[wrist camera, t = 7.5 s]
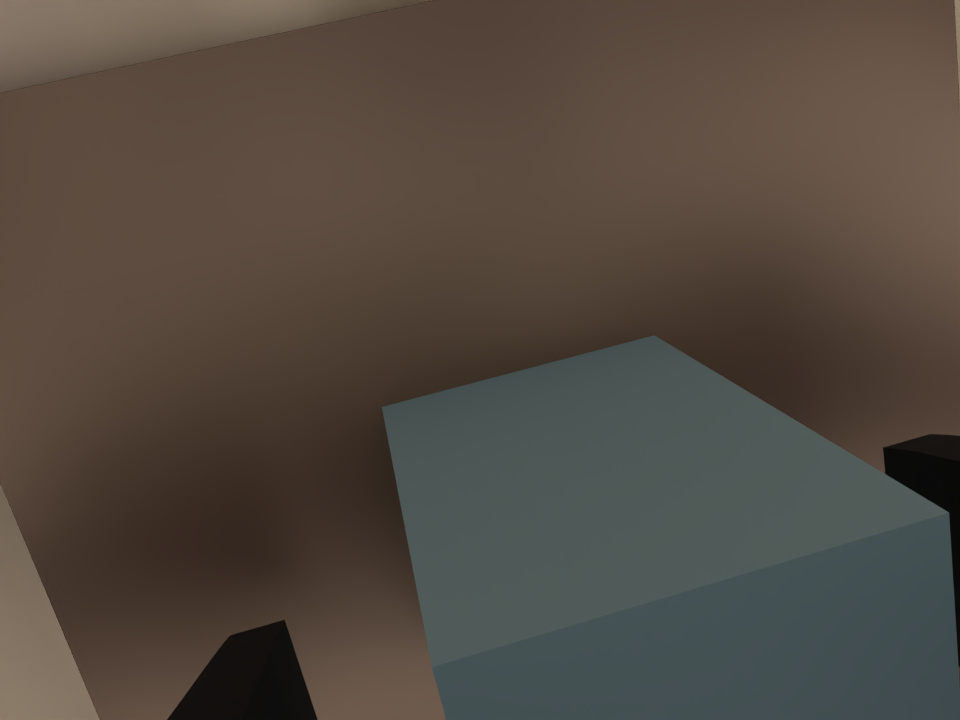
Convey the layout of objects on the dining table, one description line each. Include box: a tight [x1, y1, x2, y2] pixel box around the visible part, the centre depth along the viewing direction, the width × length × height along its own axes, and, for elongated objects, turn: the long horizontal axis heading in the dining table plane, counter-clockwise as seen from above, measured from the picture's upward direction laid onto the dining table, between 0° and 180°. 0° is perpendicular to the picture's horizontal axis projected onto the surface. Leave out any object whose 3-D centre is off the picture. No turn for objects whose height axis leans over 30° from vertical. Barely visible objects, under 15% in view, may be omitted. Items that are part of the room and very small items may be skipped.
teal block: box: [382, 335, 960, 720], centre depth 9 cm, size 4×4×6 cm
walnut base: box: [0, 0, 960, 720], centre depth 14 cm, size 14×14×2 cm
